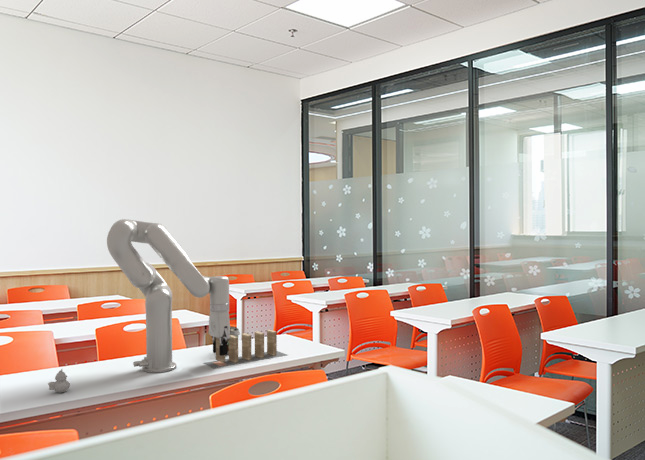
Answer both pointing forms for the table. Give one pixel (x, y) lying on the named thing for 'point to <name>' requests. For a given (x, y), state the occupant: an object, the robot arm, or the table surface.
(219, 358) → the domino
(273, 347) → the domino
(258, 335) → the domino
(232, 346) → the domino
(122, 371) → the table surface
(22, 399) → the table surface
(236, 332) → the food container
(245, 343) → the domino
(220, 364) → the domino mat
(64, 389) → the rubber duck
